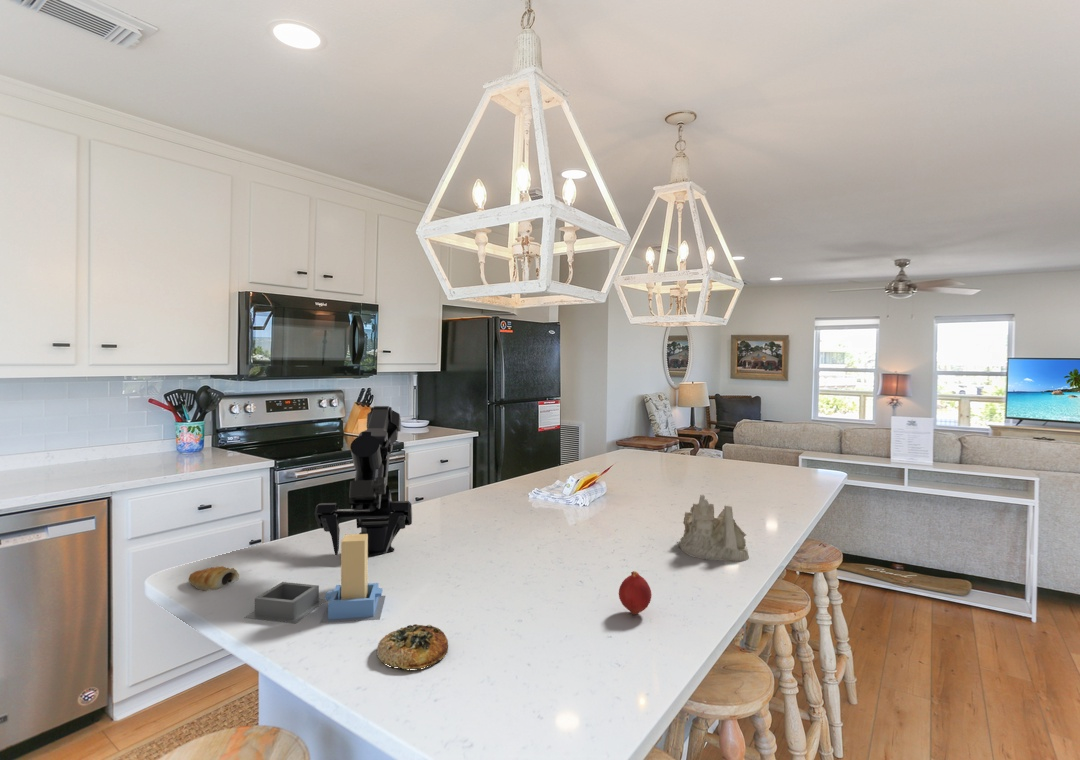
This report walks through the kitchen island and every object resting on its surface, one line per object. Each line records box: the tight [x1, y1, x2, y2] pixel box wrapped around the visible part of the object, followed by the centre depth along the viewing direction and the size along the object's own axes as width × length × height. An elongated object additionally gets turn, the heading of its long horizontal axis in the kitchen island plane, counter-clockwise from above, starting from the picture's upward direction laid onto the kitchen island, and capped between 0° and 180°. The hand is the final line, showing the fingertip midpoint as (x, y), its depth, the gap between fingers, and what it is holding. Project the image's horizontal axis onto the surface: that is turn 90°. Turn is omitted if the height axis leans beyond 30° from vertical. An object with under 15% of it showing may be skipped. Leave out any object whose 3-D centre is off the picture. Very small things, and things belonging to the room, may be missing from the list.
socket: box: [243, 581, 328, 624], centre depth 102 cm, size 10×10×4 cm
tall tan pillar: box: [340, 533, 369, 600], centre depth 102 cm, size 4×4×13 cm
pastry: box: [188, 566, 240, 592], centre depth 114 cm, size 9×7×4 cm
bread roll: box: [376, 624, 449, 671], centre depth 88 cm, size 11×11×5 cm
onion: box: [618, 570, 653, 616], centre depth 102 cm, size 6×6×8 cm
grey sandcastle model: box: [678, 493, 750, 562], centre depth 139 cm, size 16×16×15 cm
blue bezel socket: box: [319, 582, 386, 624], centre depth 102 cm, size 10×10×4 cm
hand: (360, 553), depth 110 cm, fingers open, 9 cm apart
